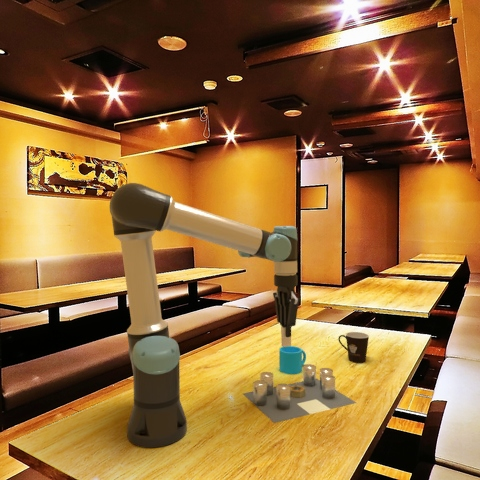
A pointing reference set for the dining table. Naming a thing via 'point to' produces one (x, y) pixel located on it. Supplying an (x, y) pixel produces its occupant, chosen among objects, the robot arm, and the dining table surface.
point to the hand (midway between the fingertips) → (286, 345)
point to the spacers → (265, 386)
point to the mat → (301, 403)
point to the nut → (297, 391)
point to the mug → (291, 359)
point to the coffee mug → (356, 346)
